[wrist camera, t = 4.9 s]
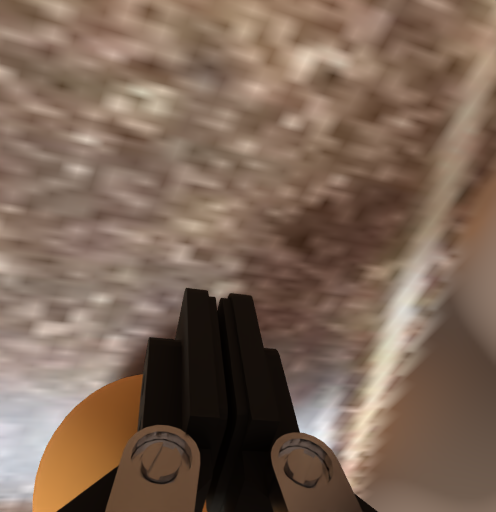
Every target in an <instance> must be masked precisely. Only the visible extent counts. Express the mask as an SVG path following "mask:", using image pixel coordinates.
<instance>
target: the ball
mask: <svg viewBox="0 0 496 512" xmlns="http://www.w3.org/2000/svg"><path fill="white" fill-rule="evenodd" d="M142 378H143V374H141V375H135V376H131V377H126V378H123V379H120V380H117V381H115V382H113V383H110V384H108V385H106V386H104V387H102V388H100V389H99V390H97V391H95V392H94V393H92V394H91V395H89V396H88V397H87V398H86V399H84V400H83V401H82V402H81V403H79V404H78V405H77V406H76V407H75V408H74V409H73V410H72V411H71V412H70V413H69V414H68V415H67V416H66V417H65V419H64V420H63V422H62V423H61V424H60V426H59V427H58V428H57V430H56V431H55V432H54V434H53V436H52V438H51V439H50V441H49V443H48V445H47V447H46V449H45V451H44V454H43V456H42V459H41V461H40V464H39V468H38V471H37V475H36V480H35V486H34V493H33V512H57V511H58V510H59V509H61V508H62V507H63V506H65V505H66V504H67V503H69V502H70V501H71V500H73V499H74V498H75V497H77V496H78V495H79V494H81V493H82V492H83V491H85V490H86V489H87V488H89V487H90V486H91V485H93V484H94V483H95V482H97V481H98V480H99V479H101V478H102V477H103V476H105V475H106V474H107V473H109V472H110V471H111V470H113V469H114V468H115V467H117V466H118V465H119V463H120V460H121V457H122V453H123V450H124V448H125V446H126V444H127V442H128V440H129V439H130V438H131V437H132V436H133V435H134V434H135V433H136V432H137V429H138V418H139V407H140V396H141V387H142ZM202 512H207V509H206V501H205V504H204V507H203V510H202Z"/></svg>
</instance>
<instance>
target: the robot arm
mask: <svg viewBox="0 0 496 512" xmlns="http://www.w3.org/2000/svg"><path fill="white" fill-rule="evenodd" d="M205 501H206V509H207V512H377V511H376V510H375V509H374V508H372V507H371V506H370V505H368V504H367V503H366V502H365V501H363V500H362V499H361V498H359V497H358V496H357V495H356V494H354V492H353V490H352V488H351V486H350V484H349V482H348V480H347V478H346V476H345V474H344V471H343V469H342V467H341V465H340V463H339V461H338V459H337V457H336V456H335V454H334V453H333V451H332V450H331V449H330V448H329V447H328V446H327V445H326V444H325V443H324V442H322V441H321V440H319V439H317V438H316V437H314V436H311V435H308V434H305V433H300V431H299V428H298V424H297V420H296V416H295V412H294V409H293V405H292V401H291V397H290V393H289V390H288V386H287V382H286V378H285V374H284V370H283V367H282V363H281V359H280V355H279V353H278V351H277V350H276V349H268V348H264V347H263V343H262V338H261V334H260V329H259V325H258V321H257V316H256V312H255V307H254V303H253V299H252V296H249V295H241V294H233V293H230V294H229V296H228V299H227V298H221V299H220V302H219V306H218V310H217V305H216V298H215V297H210V296H209V295H208V291H207V290H199V289H191V288H186V289H185V293H184V297H183V302H182V307H181V312H180V317H179V322H178V327H177V332H176V337H175V340H173V339H163V338H152V337H149V340H148V346H147V352H146V358H145V364H144V371H143V378H142V387H141V396H140V407H139V418H138V429H137V432H136V433H135V434H134V435H133V436H132V437H131V438H130V439H129V440H128V442H127V444H126V446H125V448H124V450H123V453H122V457H121V460H120V463H119V465H118V466H117V467H115V468H114V469H113V470H111V471H110V472H109V473H107V474H106V475H105V476H103V477H102V478H101V479H99V480H98V481H97V482H95V483H94V484H93V485H91V486H90V487H89V488H87V489H86V490H85V491H83V492H82V493H81V494H79V495H78V496H77V497H75V498H74V499H73V500H71V501H70V502H69V503H67V504H66V505H65V506H63V507H62V508H61V509H59V510H58V511H57V512H202V510H203V507H204V504H205Z"/></svg>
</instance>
